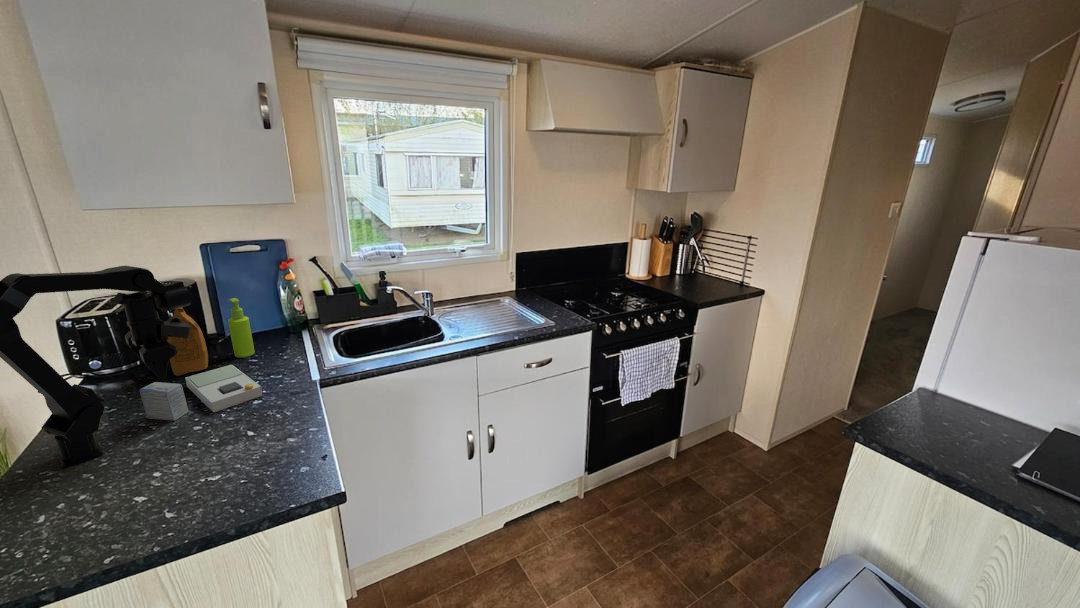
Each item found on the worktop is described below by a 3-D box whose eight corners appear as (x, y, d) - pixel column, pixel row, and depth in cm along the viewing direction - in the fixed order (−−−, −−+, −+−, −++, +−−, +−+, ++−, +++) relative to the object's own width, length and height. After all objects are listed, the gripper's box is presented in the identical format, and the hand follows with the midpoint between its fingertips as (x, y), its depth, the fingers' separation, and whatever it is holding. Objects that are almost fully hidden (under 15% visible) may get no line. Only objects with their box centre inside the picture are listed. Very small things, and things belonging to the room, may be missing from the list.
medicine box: (189, 412, 116) (182, 383, 113) (174, 421, 112) (166, 391, 109) (162, 410, 117) (154, 381, 114) (146, 419, 112) (138, 389, 110)
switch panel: (262, 395, 125) (260, 383, 124) (213, 412, 116) (210, 399, 115) (233, 373, 138) (231, 362, 137) (187, 386, 129) (184, 375, 128)
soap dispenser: (250, 348, 156) (240, 295, 151) (257, 353, 152) (247, 299, 146) (231, 353, 152) (220, 299, 146) (238, 359, 148) (227, 303, 142)
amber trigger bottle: (212, 357, 148) (199, 296, 142) (210, 371, 138) (196, 306, 132) (175, 363, 143) (159, 300, 137) (170, 378, 133) (153, 311, 127)
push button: (242, 396, 124) (240, 386, 123) (226, 401, 121) (224, 391, 120) (237, 391, 126) (235, 381, 125) (221, 396, 123) (219, 386, 122)
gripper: (195, 317, 107) (208, 374, 111) (172, 302, 118) (185, 354, 122) (136, 329, 98) (152, 390, 103) (117, 311, 109) (132, 367, 114)
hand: (157, 374), depth 111 cm, fingers open, 9 cm apart
